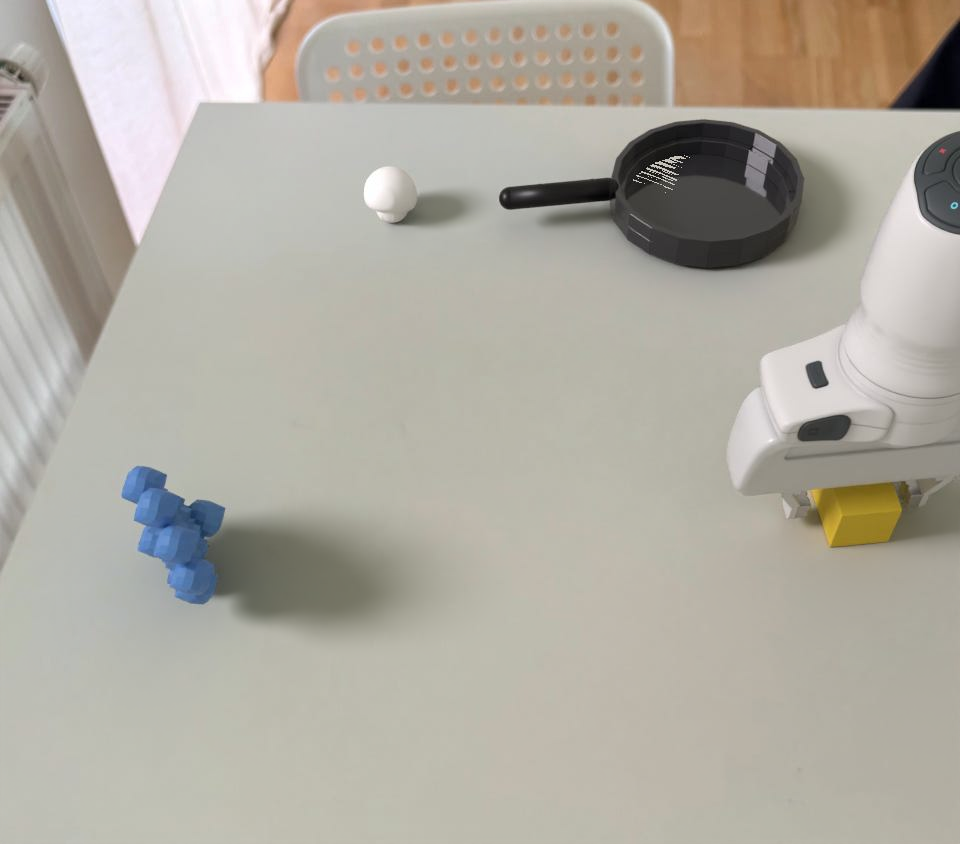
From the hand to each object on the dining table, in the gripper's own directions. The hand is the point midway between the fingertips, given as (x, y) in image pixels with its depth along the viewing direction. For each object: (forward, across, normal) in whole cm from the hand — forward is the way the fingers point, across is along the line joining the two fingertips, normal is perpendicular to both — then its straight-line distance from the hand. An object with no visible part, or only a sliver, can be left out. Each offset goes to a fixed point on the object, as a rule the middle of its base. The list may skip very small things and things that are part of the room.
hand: (852, 505), depth 83 cm
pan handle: (-1, +18, -36) cm, 40 cm away
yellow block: (+1, 0, 0) cm, 1 cm away
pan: (+1, +4, -36) cm, 36 cm away
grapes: (+1, +49, 0) cm, 49 cm away
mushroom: (+1, +33, -39) cm, 51 cm away
